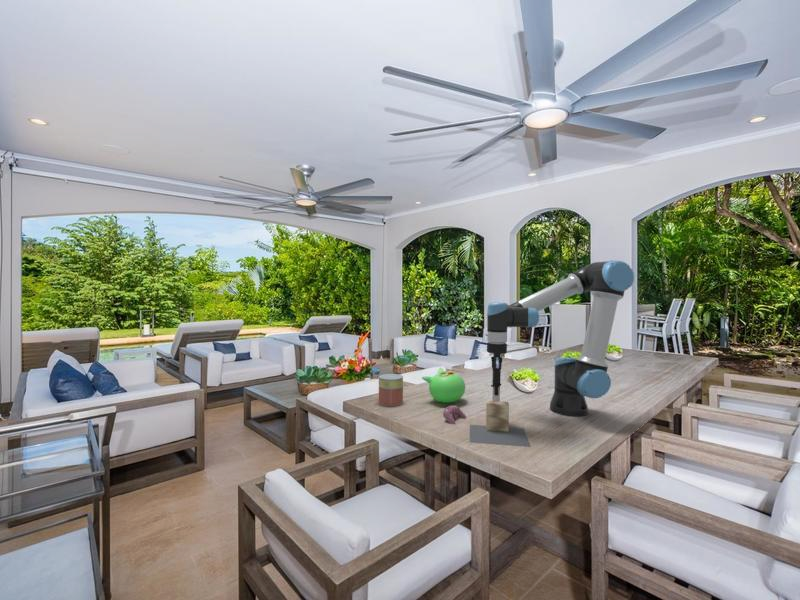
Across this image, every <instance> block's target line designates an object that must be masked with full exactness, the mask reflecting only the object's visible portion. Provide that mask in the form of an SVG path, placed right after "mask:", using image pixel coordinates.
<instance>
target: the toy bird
mask: <svg viewBox="0 0 800 600" xmlns="http://www.w3.org/2000/svg"><path fill="white" fill-rule="evenodd" d="M421 379H422V380H424V382H426V383H429V384H428V390H429V394H430V395H431V397H432V398H433V399H434V400H435V401H437V402H439V403H445V404H450V403H454V402H457V401H459V400H460V399H461V398H463V396H464V394H465V391H466V382H465V380H464V379H463V377H462V376H461V375H459V374H458V373H456V372H453V371H448V370H447V371H446V370H445V371H444V369H443V368H442V367H439V368H438V373H437V374H435V375H434V376H429V375H427V376H425V375H424V376H421Z"/></svg>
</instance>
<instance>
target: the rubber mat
mask: <svg viewBox="0 0 800 600" xmlns="http://www.w3.org/2000/svg"><path fill="white" fill-rule="evenodd" d="M469 443H473V444H474V443H475V444H486V445H500V446H510V447H511V446H513V447H527V448H528V447H529V448H531V447H532V446H531V444H530V441H529V439H528V436H527V433H526V429H525V428H523V427H512V426H511V427H509V432H508V431H493V430H486V425H479V424H469Z"/></svg>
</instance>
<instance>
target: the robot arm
mask: <svg viewBox="0 0 800 600" xmlns="http://www.w3.org/2000/svg"><path fill="white" fill-rule="evenodd" d="M634 280H635V274H634V270H633V269H632V268H631V266H630V265H629V264H628V263H626V262H624V261H622V260H611V259H610V260H607V261H597V262H592V263H590V264H587V265H585V266H583V267H581V268H579V269H577V270H575V271H573V272H572V273H569V274H568V275H567V277H566V278H564V279H561V280H560V281H558V282H555V283H553V284H552V285H550V286H549V285H548V286H547V287H545V288H543V289H541V290H539V291H536V292H535V293H532V294H531V295H528V296H526V297H524V298H521V299H520V300H517V301H516V302H513V303H511V304H508V303H507V302H489V303H488V305H487V313H486V319H487V320H486V321H487V323H486V325H487V327H486V328H487V329H486V331H487V332H486V333H485V336H486V337H487V338H486V339H487V340H486V341H487V343H486V352H487V353H488V354H492V356H491V357H490V359H491V360H490V361H491V368H492V384H490V387H492V390H491V391H492V393H491V394H492V398H491V399H492V400H491V401H497V402H501V401H500V400H501V399H500V397H501V396H500V395H501V386H502V383H501V377H502V375H501V370H502V363H503V358H502V356H501V355H503V354H507V352H508V344H507V342H508V328H534V327H537V326H538V324H539V321H540V313H539V312H540V311H542V310H544V309H547V308H548V307H550V306H553V305H555V304H557V303H559V302H561V301H563V300H566V299H567V298H570V297H572V296H575V295H582V294H584V293H586V292H590V294H591V295H592V297H593V300H592V302H591V303H592V304H591V309H590V313H589V317H588V323H587V327H586V331H585V335H584V340H583V344H582V350H581V355H579V356H578V357H557V358H556V359H555V362H554V389H553V390H554V391H553V394H552V397H551V399H550V402H549V410H550V411H551V412H554V413H556V414H559V415H563V416H569V417H570V416H571V417H582V416H587V414H588V413H589V407H588V404H587V401H586V398H590V399H599V398H601V397H604V396H605V395H606V394H607V393H608V392H609V390H610V389H611V386H612V379H611V377H610V376H609V374H608V373H607V372H608V370H609V369H608V367H609V365H608V364H607V363H606V356H607V353H608V352H607V351H608V349H609V347H608V346H609V343H610V339H611V338H610V337H611V333H612V329H613V324H614V321H615V315H616V311H617V306H618V302H619V301H620V300H621V299H623V298H624V295H625V292H626V290H628V289H629V288H631V287H632V286H633V284H634Z"/></svg>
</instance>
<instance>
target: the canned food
mask: <svg viewBox="0 0 800 600" xmlns="http://www.w3.org/2000/svg"><path fill="white" fill-rule="evenodd" d="M403 404H404V375H402V374H398V373H384V374H380V375H379V376H378V405H381V406H385V407H397V406H401V405H403Z"/></svg>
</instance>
